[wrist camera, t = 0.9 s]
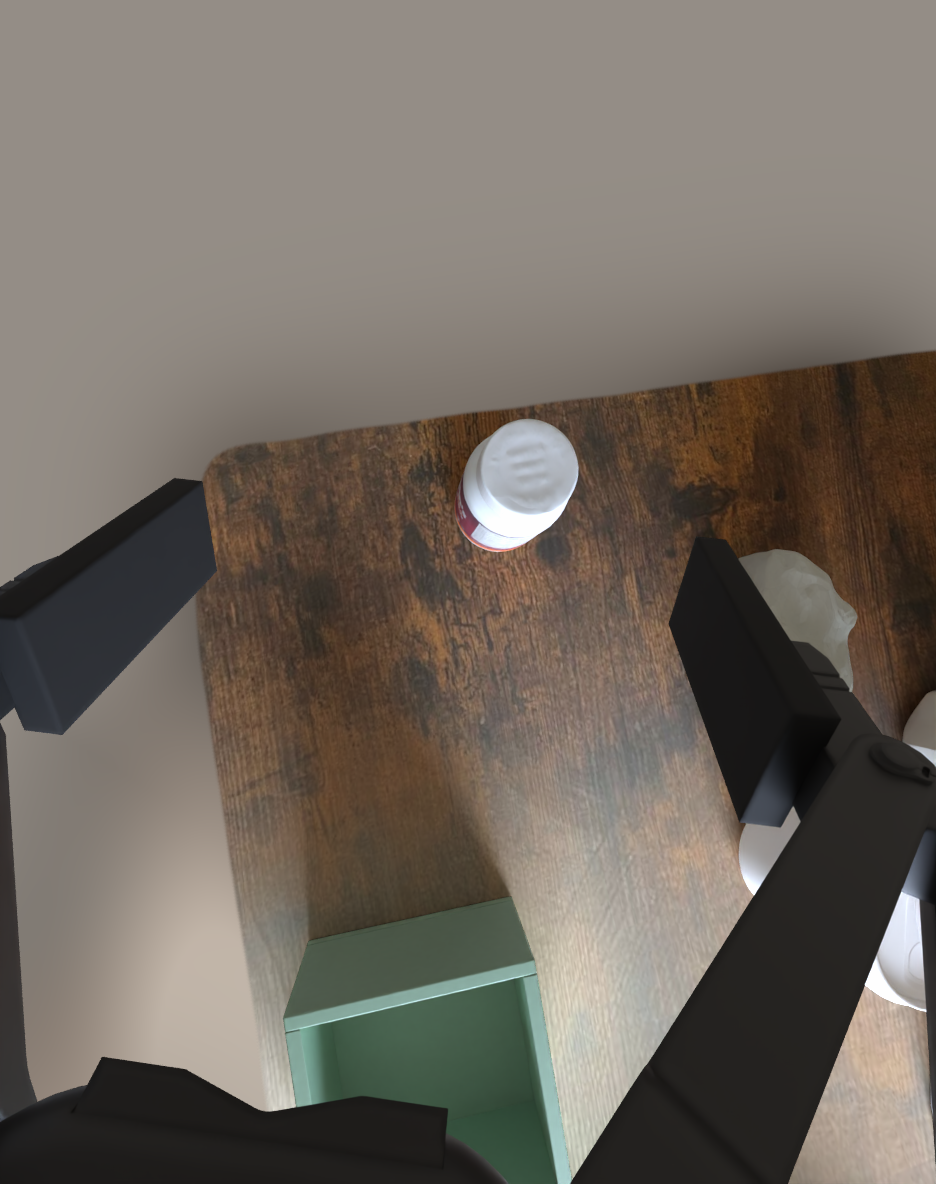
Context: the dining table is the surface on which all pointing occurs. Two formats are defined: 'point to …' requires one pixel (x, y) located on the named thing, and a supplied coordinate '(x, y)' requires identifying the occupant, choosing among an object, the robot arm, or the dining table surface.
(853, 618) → the decorative stone
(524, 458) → the pill bottle
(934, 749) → the vase
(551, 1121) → the bin
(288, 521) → the dining table surface
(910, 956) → the beverage can
